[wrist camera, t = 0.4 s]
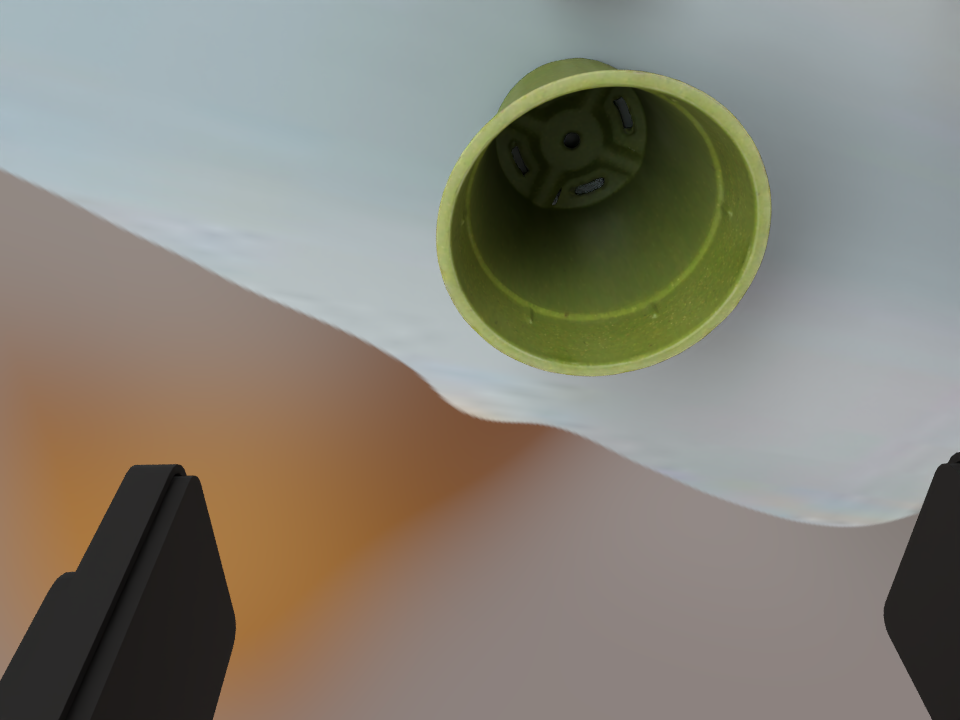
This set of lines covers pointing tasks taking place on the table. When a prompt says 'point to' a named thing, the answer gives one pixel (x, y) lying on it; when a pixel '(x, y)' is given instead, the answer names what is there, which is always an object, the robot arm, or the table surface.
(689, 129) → the plant pot
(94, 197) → the table surface
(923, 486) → the table surface
